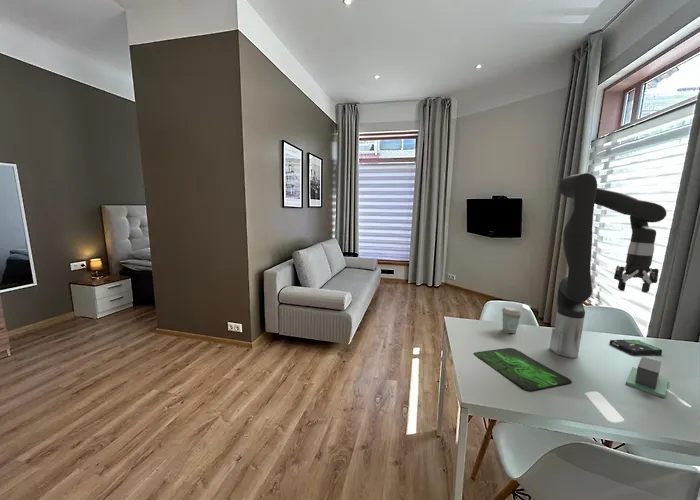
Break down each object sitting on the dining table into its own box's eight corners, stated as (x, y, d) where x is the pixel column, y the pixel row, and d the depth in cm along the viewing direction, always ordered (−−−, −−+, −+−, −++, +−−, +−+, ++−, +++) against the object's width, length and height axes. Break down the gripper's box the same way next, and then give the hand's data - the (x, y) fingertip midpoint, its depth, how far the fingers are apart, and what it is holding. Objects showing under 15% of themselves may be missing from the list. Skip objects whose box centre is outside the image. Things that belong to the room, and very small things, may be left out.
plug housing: (635, 382, 103) (637, 366, 102) (639, 371, 111) (642, 356, 110) (655, 389, 99) (658, 372, 99) (658, 377, 107) (661, 361, 106)
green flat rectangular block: (625, 384, 104) (626, 377, 103) (632, 369, 114) (633, 363, 113) (664, 398, 96) (666, 391, 96) (668, 381, 107) (669, 374, 106)
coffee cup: (503, 334, 142) (506, 310, 140) (497, 327, 150) (499, 305, 149) (521, 336, 141) (525, 312, 139) (515, 328, 149) (517, 306, 147)
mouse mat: (470, 353, 122) (470, 351, 122) (511, 347, 129) (511, 345, 129) (527, 393, 97) (527, 391, 96) (574, 384, 103) (575, 381, 103)
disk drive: (632, 356, 126) (662, 355, 127) (633, 350, 125) (663, 349, 127) (608, 345, 136) (636, 344, 137) (609, 339, 135) (637, 338, 137)
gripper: (627, 253, 117) (620, 292, 120) (668, 256, 115) (660, 295, 118) (614, 251, 125) (607, 287, 127) (652, 253, 122) (644, 290, 125)
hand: (632, 291), depth 122 cm, fingers open, 8 cm apart
